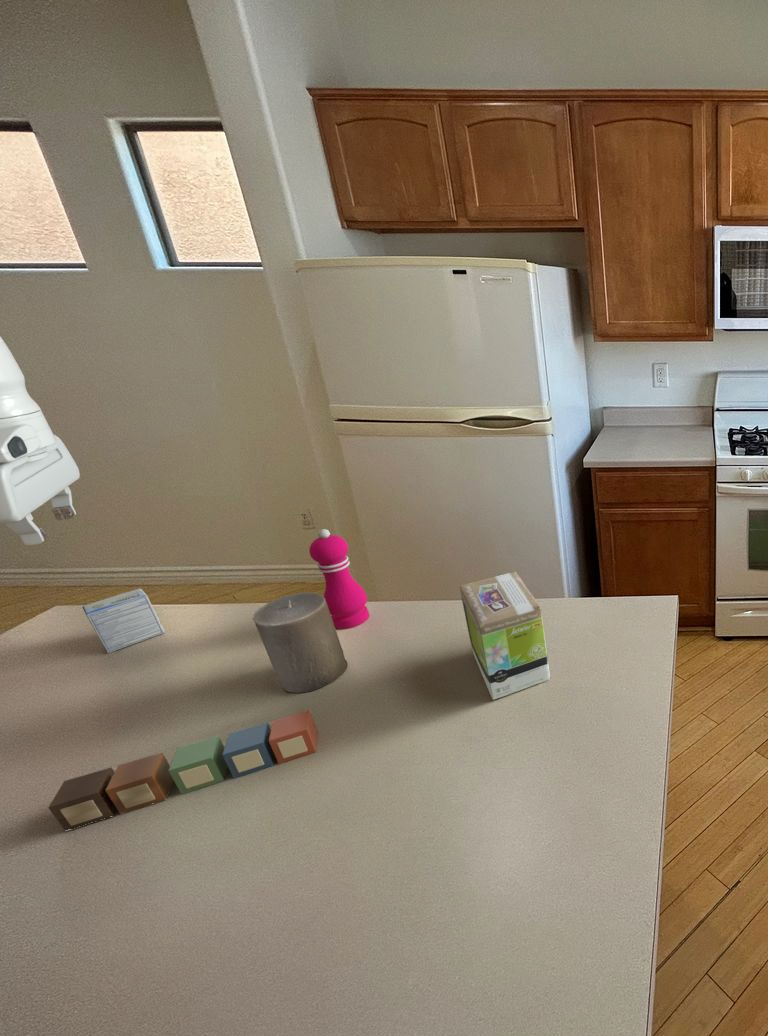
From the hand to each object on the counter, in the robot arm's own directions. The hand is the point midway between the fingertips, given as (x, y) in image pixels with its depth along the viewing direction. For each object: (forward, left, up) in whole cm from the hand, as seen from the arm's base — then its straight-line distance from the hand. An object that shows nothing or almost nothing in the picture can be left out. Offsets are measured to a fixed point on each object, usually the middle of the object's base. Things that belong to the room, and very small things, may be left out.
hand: (53, 529), depth 79 cm
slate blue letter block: (+19, -28, -29) cm, 45 cm away
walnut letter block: (+3, -28, -29) cm, 40 cm away
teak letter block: (+8, -28, -29) cm, 41 cm away
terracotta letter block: (+24, -28, -29) cm, 47 cm away
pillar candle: (+25, -10, -29) cm, 40 cm away
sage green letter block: (+14, -28, -29) cm, 43 cm away
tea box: (+55, -24, -29) cm, 67 cm away
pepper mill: (+30, +6, -29) cm, 42 cm away
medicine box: (-5, +18, -29) cm, 35 cm away
